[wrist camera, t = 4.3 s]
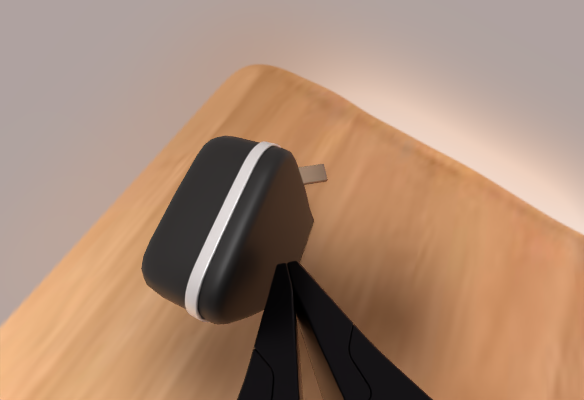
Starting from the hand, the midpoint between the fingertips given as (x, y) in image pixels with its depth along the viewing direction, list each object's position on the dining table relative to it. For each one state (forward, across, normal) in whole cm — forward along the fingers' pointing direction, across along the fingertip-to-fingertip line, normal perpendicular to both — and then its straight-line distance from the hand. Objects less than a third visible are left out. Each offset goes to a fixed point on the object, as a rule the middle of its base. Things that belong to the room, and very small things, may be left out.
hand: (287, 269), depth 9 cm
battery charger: (+7, 0, +6) cm, 9 cm away
